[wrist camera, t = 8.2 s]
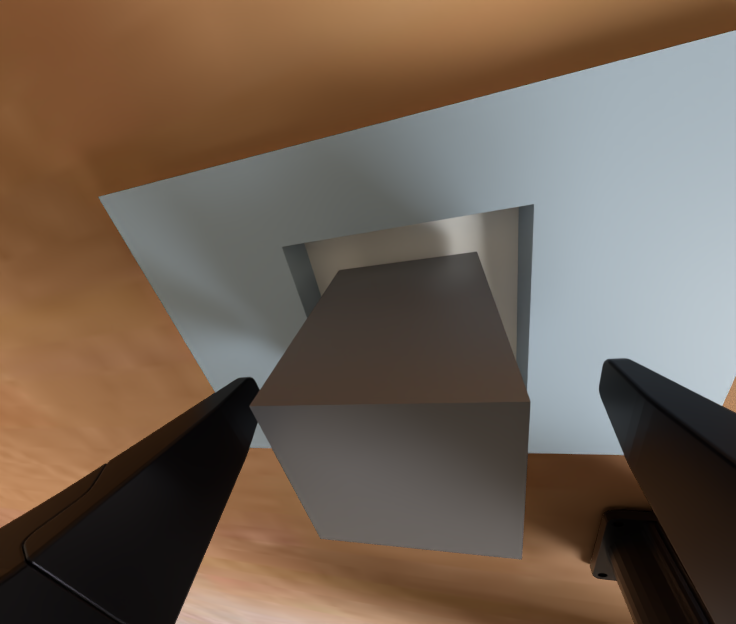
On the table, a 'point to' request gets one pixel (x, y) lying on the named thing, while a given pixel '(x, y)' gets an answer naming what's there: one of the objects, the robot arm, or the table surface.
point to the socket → (484, 231)
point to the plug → (404, 411)
